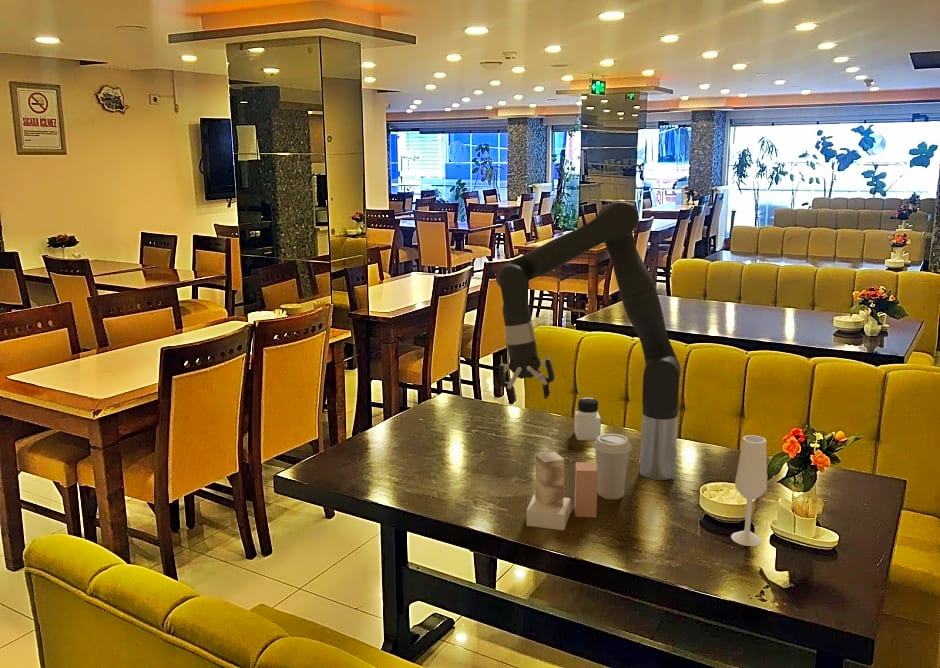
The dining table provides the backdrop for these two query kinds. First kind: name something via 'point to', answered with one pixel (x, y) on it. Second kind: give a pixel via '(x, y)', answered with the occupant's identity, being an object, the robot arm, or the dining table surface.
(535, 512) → the plinth
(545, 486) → the maple pillar
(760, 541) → the champagne flute
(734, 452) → the dining table surface
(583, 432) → the medicine bottle
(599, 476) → the coffee cup
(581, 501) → the terracotta pillar
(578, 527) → the dining table surface
